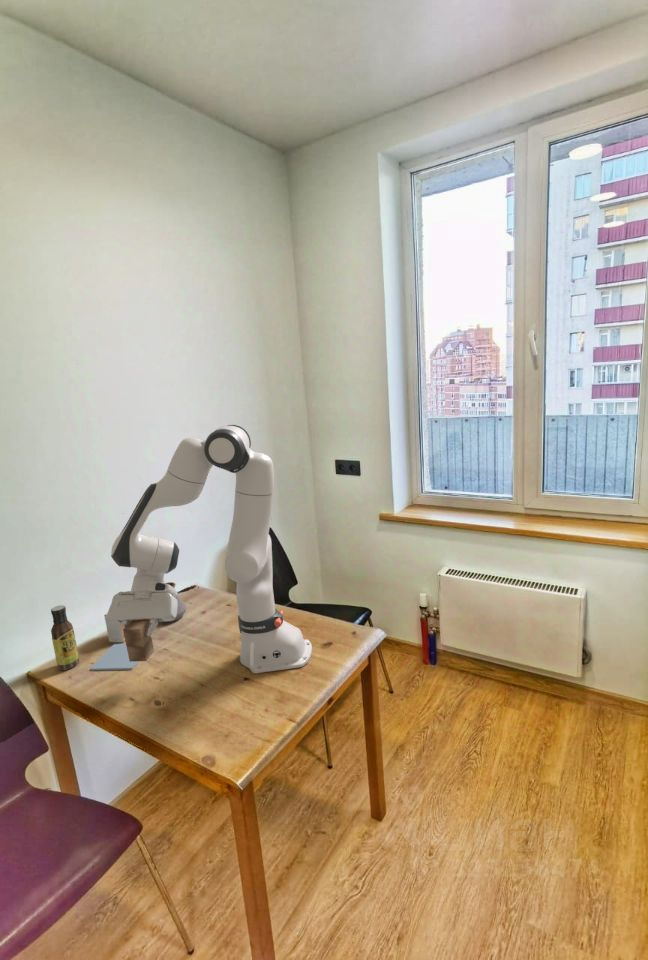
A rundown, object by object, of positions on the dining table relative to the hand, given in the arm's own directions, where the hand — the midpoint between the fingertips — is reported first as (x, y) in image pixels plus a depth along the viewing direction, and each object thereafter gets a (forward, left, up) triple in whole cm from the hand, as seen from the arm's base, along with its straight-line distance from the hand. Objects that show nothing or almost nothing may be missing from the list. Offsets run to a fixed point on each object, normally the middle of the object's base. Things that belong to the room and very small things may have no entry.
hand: (136, 637), depth 134 cm
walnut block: (0, -1, -6) cm, 6 cm away
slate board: (+15, -15, -15) cm, 26 cm away
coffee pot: (+5, -39, -15) cm, 42 cm away
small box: (+22, -28, -15) cm, 39 cm away
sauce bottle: (+31, -11, -15) cm, 36 cm away
